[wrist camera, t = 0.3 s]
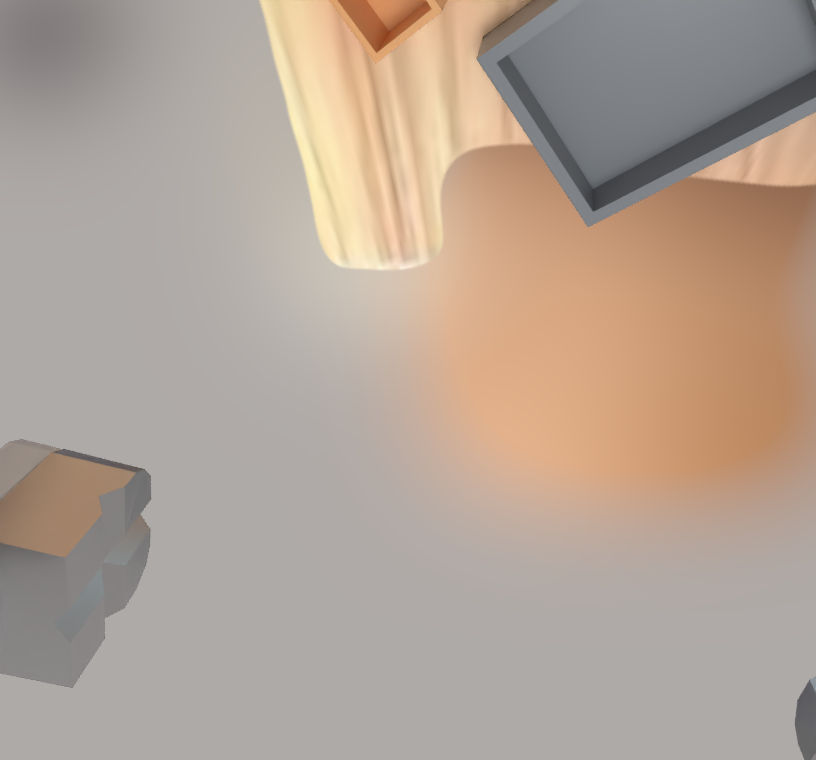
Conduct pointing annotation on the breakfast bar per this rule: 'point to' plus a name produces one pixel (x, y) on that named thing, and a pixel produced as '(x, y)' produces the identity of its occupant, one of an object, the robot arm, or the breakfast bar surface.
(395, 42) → the orange crate
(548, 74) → the charcoal crate
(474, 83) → the breakfast bar surface
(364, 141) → the breakfast bar surface
